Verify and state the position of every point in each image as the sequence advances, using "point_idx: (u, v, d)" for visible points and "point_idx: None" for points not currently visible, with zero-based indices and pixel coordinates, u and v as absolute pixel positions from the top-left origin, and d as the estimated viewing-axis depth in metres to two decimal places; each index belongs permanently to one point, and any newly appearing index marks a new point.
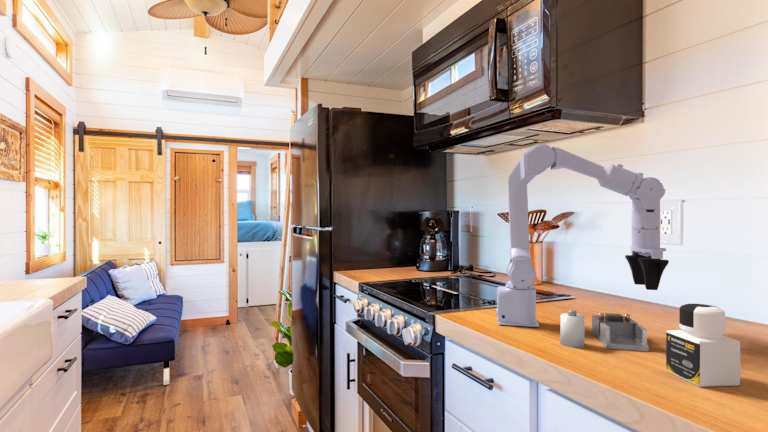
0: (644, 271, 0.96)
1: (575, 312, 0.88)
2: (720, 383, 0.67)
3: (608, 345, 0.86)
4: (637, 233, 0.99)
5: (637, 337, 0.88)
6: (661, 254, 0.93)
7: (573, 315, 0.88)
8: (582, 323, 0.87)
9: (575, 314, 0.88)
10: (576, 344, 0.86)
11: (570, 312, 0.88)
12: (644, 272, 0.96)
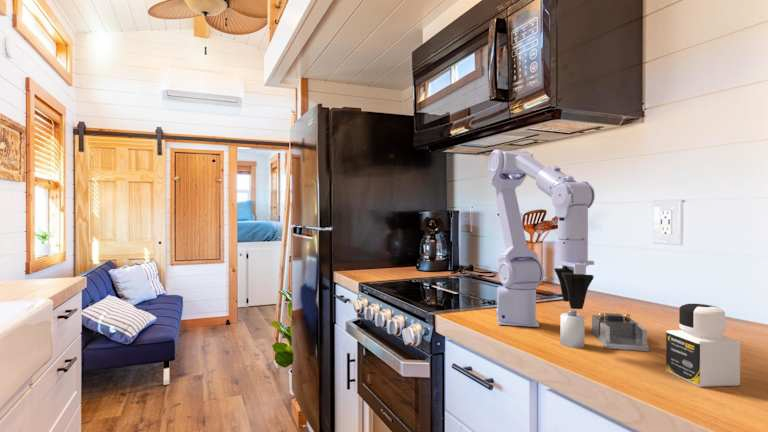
0: (567, 288, 0.85)
1: (575, 312, 0.88)
2: (720, 383, 0.67)
3: (608, 345, 0.86)
4: (562, 244, 0.88)
5: (637, 337, 0.88)
6: (584, 269, 0.81)
7: (573, 315, 0.88)
8: (582, 323, 0.87)
9: (575, 314, 0.88)
10: (576, 344, 0.86)
11: (570, 312, 0.88)
12: (567, 289, 0.85)
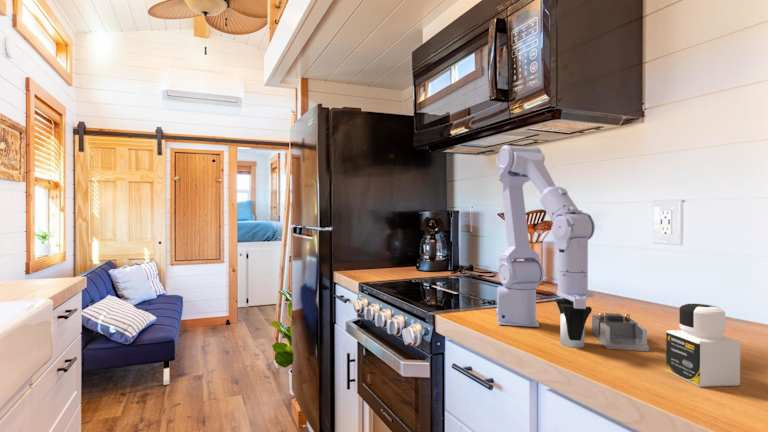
0: (566, 319, 0.86)
1: None
2: (720, 383, 0.67)
3: (608, 345, 0.86)
4: (562, 276, 0.88)
5: (637, 337, 0.88)
6: (584, 303, 0.81)
7: None
8: None
9: None
10: (576, 344, 0.86)
11: None
12: (566, 320, 0.86)
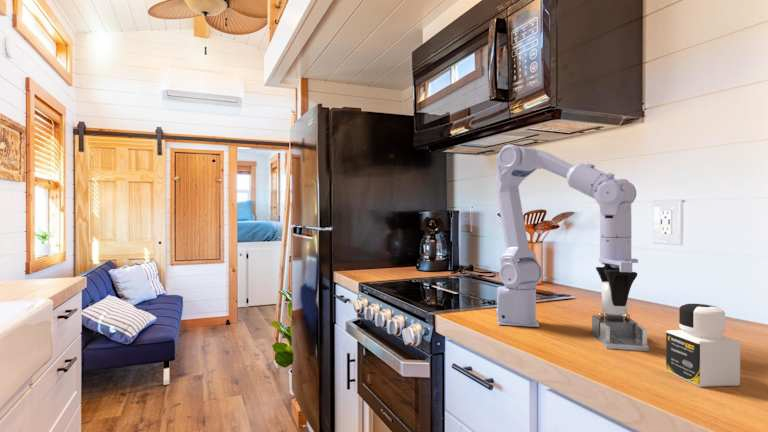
0: (610, 285, 0.85)
1: None
2: (720, 383, 0.67)
3: (608, 345, 0.86)
4: (605, 242, 0.87)
5: (637, 337, 0.88)
6: (630, 267, 0.81)
7: None
8: None
9: None
10: (620, 311, 0.86)
11: None
12: (610, 286, 0.85)
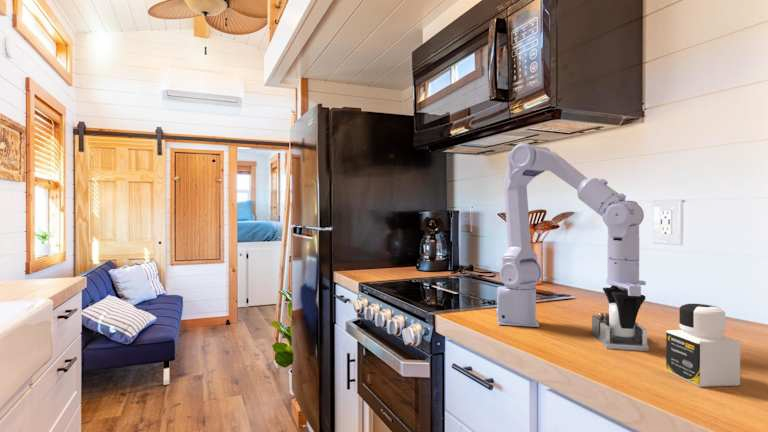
0: (618, 307, 0.85)
1: None
2: (720, 383, 0.67)
3: (608, 345, 0.86)
4: (613, 264, 0.87)
5: (637, 337, 0.88)
6: (639, 291, 0.81)
7: None
8: None
9: None
10: (627, 333, 0.86)
11: None
12: (618, 309, 0.85)
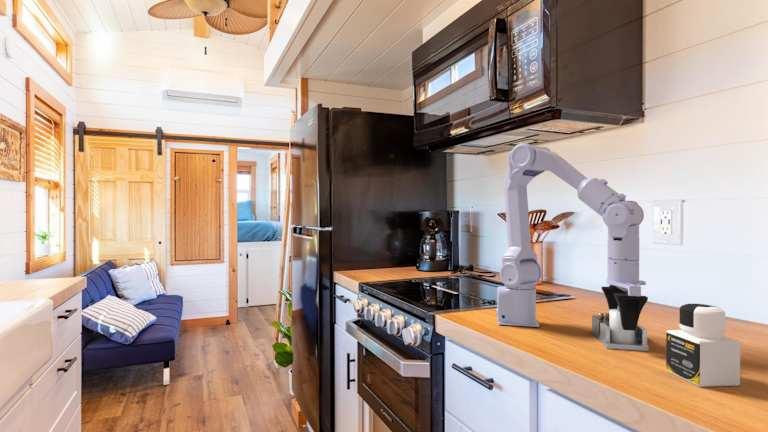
0: (620, 309, 0.84)
1: None
2: (720, 383, 0.67)
3: (608, 345, 0.86)
4: (613, 264, 0.87)
5: (637, 337, 0.88)
6: (639, 291, 0.81)
7: None
8: None
9: None
10: (627, 340, 0.86)
11: None
12: (620, 310, 0.84)
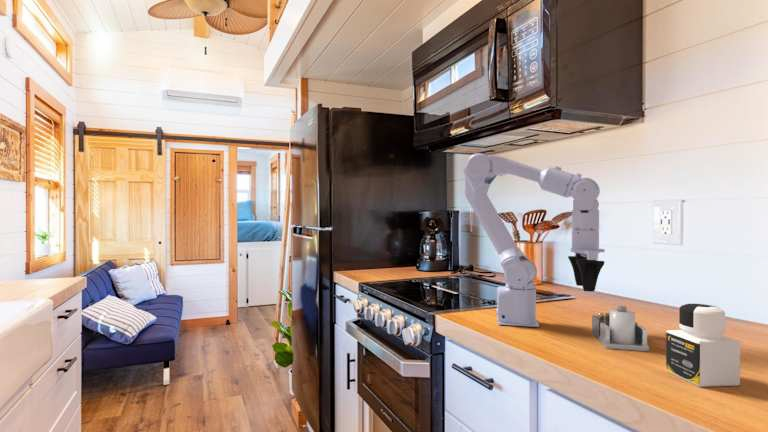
0: (581, 272, 0.95)
1: (625, 308, 0.87)
2: (720, 383, 0.67)
3: (608, 345, 0.86)
4: (576, 234, 0.98)
5: (637, 337, 0.88)
6: (596, 255, 0.92)
7: (623, 311, 0.87)
8: (633, 319, 0.86)
9: (625, 310, 0.87)
10: (627, 340, 0.86)
11: (620, 308, 0.87)
12: (581, 273, 0.95)
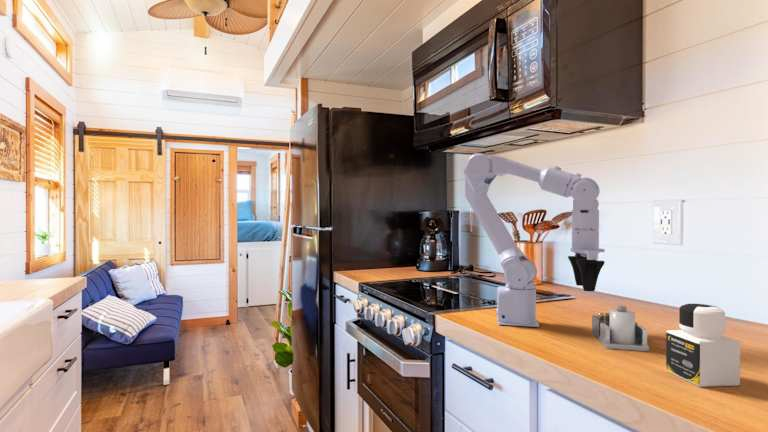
0: (581, 272, 0.95)
1: (625, 308, 0.87)
2: (720, 383, 0.67)
3: (608, 345, 0.86)
4: (576, 234, 0.98)
5: (637, 337, 0.88)
6: (596, 255, 0.92)
7: (623, 311, 0.87)
8: (633, 319, 0.86)
9: (625, 310, 0.87)
10: (627, 340, 0.86)
11: (620, 308, 0.87)
12: (581, 273, 0.95)
